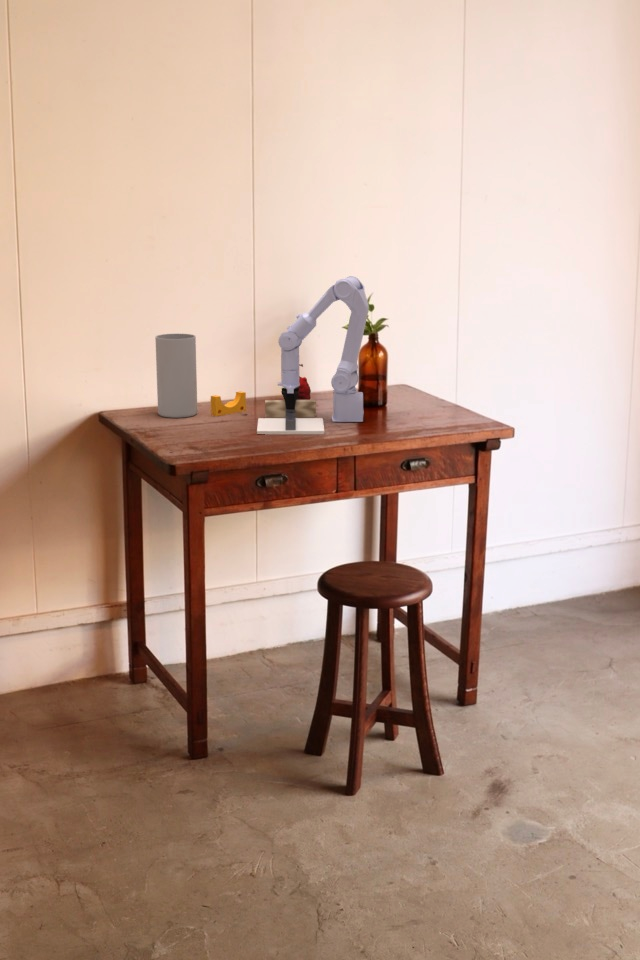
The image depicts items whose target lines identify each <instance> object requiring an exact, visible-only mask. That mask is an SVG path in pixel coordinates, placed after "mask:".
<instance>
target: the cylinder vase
mask: <svg viewBox="0 0 640 960" xmlns="http://www.w3.org/2000/svg"><path fill="white" fill-rule="evenodd" d="M196 341H197V340H196V335H195V334H191V333H163V334H158V335H155V361H156V362H155V364H156V391H157V395H156V396H157V413H158V415H159V416H160V417H163V418H167V419H168V418H170V419H171V418H172V419H181V418H182V419H183V418H190V417H194V416H195V415H197V414H198V386H197V385H198V381H197V376H198V375H197V345H196V343H197V342H196Z"/></svg>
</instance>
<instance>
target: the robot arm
mask: <svg viewBox="0 0 640 960" xmlns="http://www.w3.org/2000/svg"><path fill="white" fill-rule="evenodd" d="M337 301H341V302H343V303H344V304H346V306H347V307H348V309H349V310H350V316H349V320H348V321H349V322H348V324H347V325H348V326H347V329H346V335H345V340H344V344H343V348H342V353H341V358H340V362H339V363H338V365H337V368H336V372H335V373H334V375H333V376H332V378H331V382H330V383H331V387H332V389H333V390H332V391H333V393H332V394H333V397H332V398H333V402H332V403H333V407H332V408H333V409H332V411H333V413H332V415H331V422H332V423H362V422H364V413H365V411H364V392H362V391H358V390H357V388H356V386H357V385H358V382H359V374H358V369H359V365H358V359H359V354H360V351H361V346H362V341H363V337H364V333H365V328H366V324H367V323H366V322H367V319H368V315H369V310H370V305H369V302H368V299H367V296H366V291H365V286H364V284H363V283H362V282H361V281H360V279H359V278H357V277H356V276H347V277H345V278H340V279H338V280H336V282H335V283H334V284H333V285H331V286H330V287H329V288H328V289H327V290H326V291H325V293H324V294H322V296H321V297H320V298H319V300H318V301H317V302H316V303H315V304H314V305H313V307H312V308H311V309H310V310H309V311H308V312H302V313H301V314H297V316H296V317H295V318H296V320H294V322H293V323H292V324H291V325H289V326H287V328H286V329H287V331H283V332H282V333H281V334H280V336H279V338H278V345H279V347H280V351H281V352H280V353H281V355H280V369H281V373H280V374H281V375H280V379H281V380H280V381H281V382H277V386H280V387H281V391H280V392H281V395H282V397H283V400H285V405H286V409H295V404H296V400H297V397H298V395H299V392H298V391H299V387H298V386H300V383H299V376H300V366H299V364H300V346H301V345H302V343H303V340H304V339H305V338H307V336H308V335H309V334H310V333H311V332H312V331H313V330H314V328H316V327H317V319H318V318H319V317H320V316H321V315H322V314H323V313H324V312H325V311H326V310H328V308H329V307H330V306H331V305H332V304H333V303H334V302H337Z"/></svg>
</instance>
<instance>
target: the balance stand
mask: <svg viewBox="0 0 640 960" xmlns="http://www.w3.org/2000/svg"><path fill="white" fill-rule="evenodd" d="M257 419H258V420H257V428H256V435H257V434H265V435H325V427H324V425H325V424H324V419H323V418H322V417H296V415H295V409H286V417H265V418H263V417H262V418H261V417H258V418H257Z"/></svg>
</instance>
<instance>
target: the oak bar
mask: <svg viewBox="0 0 640 960" xmlns="http://www.w3.org/2000/svg"><path fill="white" fill-rule="evenodd" d="M264 413H265V414H264V417H265V418H286V405H285V400H284V399H265V400H264ZM295 415H296V418H317V400H316V399H310V400H296V404H295Z"/></svg>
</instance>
